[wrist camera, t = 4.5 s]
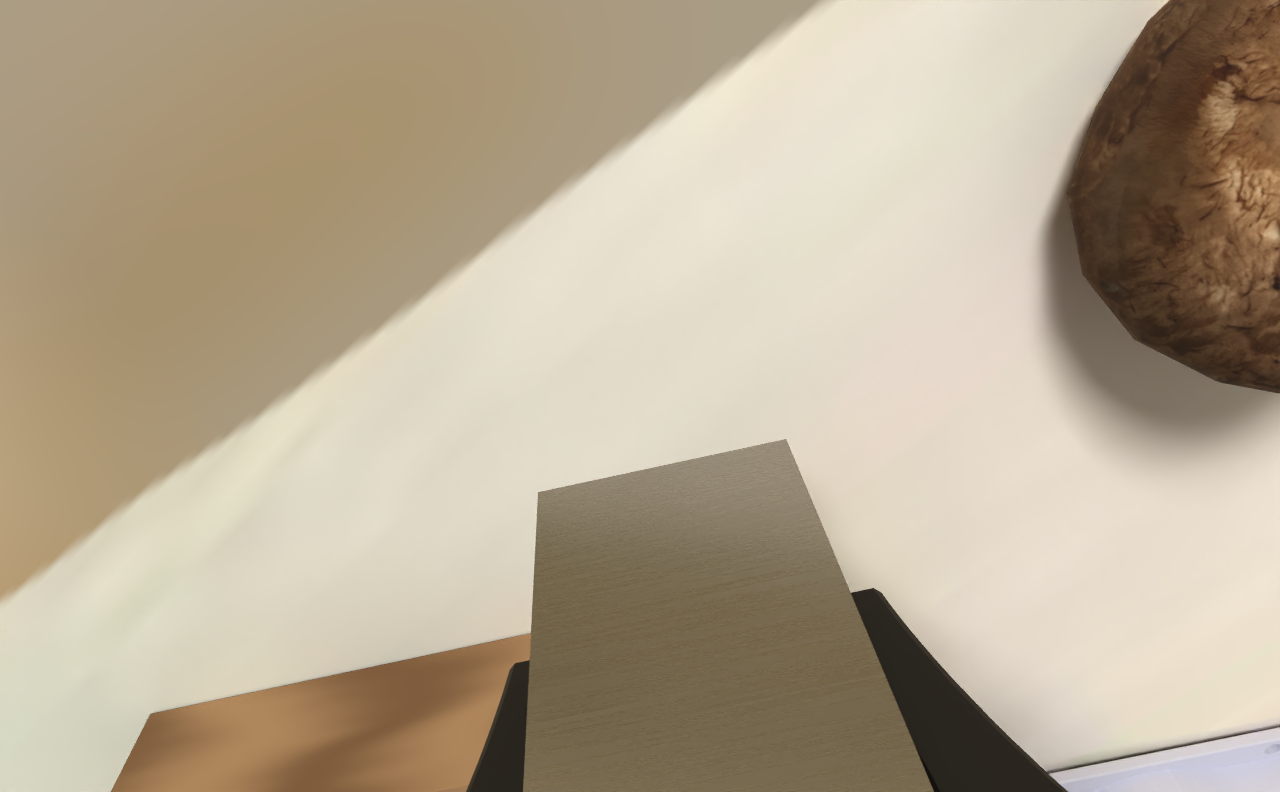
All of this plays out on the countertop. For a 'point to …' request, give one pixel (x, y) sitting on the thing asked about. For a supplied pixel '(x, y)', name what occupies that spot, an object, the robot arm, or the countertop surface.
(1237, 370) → the mushroom
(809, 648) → the square bit
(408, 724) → the socket block
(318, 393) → the countertop surface
